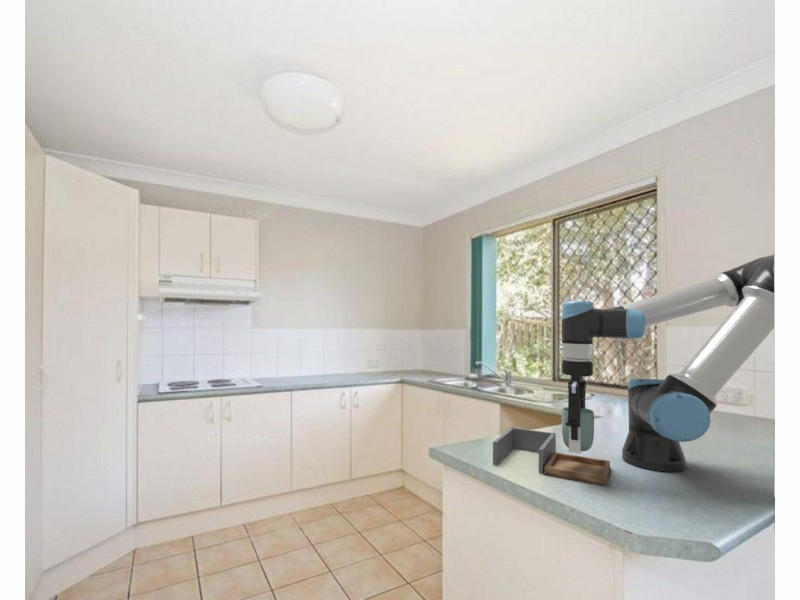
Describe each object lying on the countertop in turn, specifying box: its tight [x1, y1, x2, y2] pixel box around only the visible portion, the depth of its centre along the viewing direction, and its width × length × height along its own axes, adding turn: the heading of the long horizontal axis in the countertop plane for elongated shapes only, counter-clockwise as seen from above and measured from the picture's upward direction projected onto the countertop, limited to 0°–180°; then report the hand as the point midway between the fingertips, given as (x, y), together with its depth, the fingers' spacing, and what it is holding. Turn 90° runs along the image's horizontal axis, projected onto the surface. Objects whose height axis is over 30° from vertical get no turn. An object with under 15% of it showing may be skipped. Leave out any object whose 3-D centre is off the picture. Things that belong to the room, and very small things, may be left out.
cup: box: [561, 406, 595, 452], centre depth 109 cm, size 8×8×10 cm
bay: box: [492, 426, 557, 475], centre depth 118 cm, size 13×18×6 cm
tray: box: [543, 452, 611, 487], centre depth 108 cm, size 14×14×2 cm
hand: (577, 447), depth 108 cm, fingers closed on cup, 8 cm apart
